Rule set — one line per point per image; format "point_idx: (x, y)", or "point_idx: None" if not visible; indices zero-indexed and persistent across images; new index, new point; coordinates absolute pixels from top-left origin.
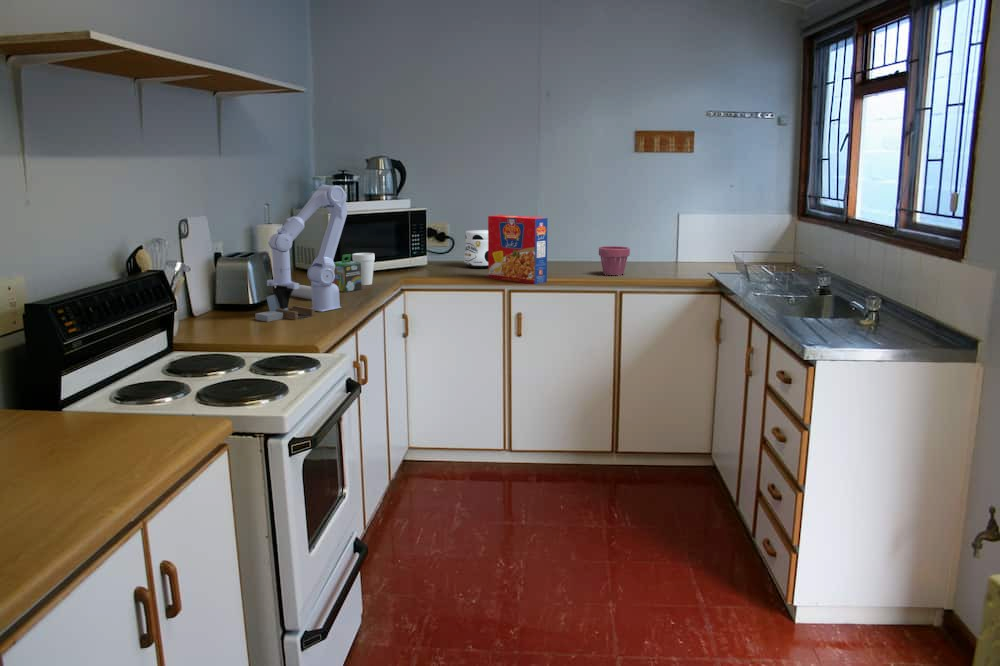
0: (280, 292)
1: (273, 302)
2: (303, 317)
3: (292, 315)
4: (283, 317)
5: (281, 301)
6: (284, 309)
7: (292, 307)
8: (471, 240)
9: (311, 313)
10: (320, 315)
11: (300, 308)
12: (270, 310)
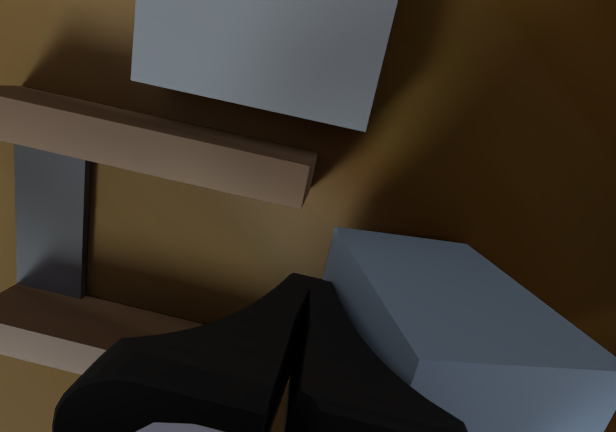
0: (185, 347)
1: (426, 288)
2: (17, 188)
3: (28, 95)
4: (198, 126)
5: (277, 300)
6: None
7: None
8: None
9: (7, 293)
10: None
11: None
12: (471, 256)
